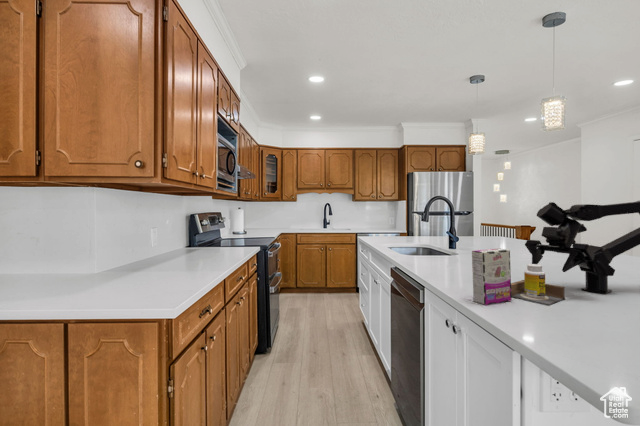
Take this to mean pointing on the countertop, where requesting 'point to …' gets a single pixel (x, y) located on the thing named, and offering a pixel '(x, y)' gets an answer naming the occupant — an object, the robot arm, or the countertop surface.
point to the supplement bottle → (534, 281)
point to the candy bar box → (491, 276)
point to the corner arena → (551, 297)
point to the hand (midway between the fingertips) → (547, 268)
